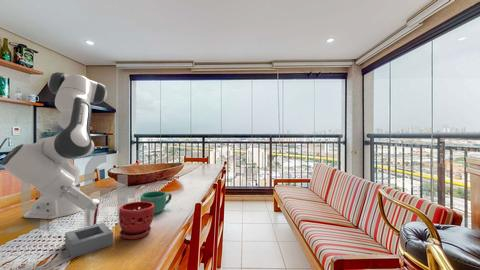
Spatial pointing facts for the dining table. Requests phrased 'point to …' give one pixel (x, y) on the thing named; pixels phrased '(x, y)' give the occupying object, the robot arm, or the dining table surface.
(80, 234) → the socket collar
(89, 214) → the milkshake
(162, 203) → the mug
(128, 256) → the dining table surface
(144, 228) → the plant pot
